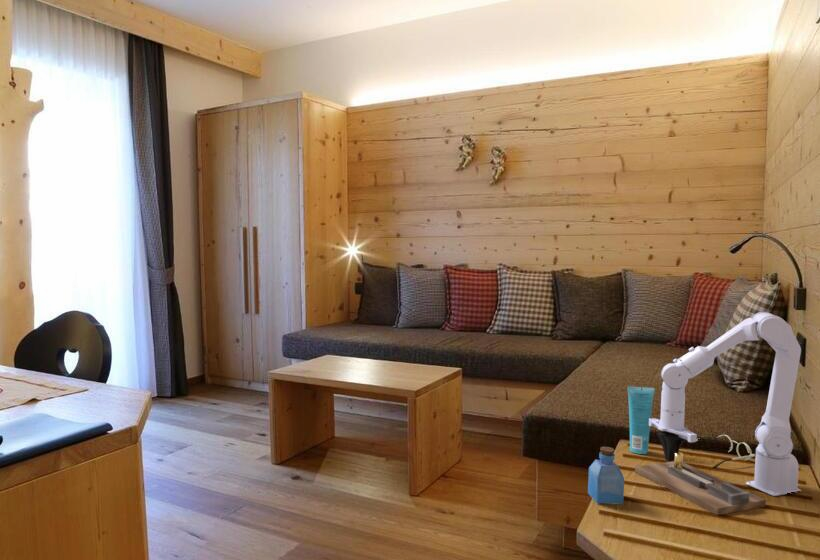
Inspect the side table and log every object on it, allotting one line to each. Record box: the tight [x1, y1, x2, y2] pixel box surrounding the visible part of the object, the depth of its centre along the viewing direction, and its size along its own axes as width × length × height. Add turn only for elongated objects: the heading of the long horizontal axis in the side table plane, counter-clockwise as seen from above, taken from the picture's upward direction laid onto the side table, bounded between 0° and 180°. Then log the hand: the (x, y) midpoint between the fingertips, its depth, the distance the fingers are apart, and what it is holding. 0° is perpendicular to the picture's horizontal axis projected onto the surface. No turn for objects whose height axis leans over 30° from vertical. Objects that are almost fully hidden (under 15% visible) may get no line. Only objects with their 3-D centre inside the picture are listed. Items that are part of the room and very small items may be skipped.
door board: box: [634, 461, 767, 516], centre depth 145 cm, size 15×26×4 cm, turn 20°
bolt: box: [669, 451, 713, 489], centre depth 146 cm, size 2×12×5 cm, turn 20°
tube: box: [627, 385, 656, 455], centre depth 169 cm, size 7×5×19 cm, turn 85°
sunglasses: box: [684, 434, 756, 469], centre depth 168 cm, size 17×15×5 cm
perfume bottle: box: [587, 446, 625, 505], centre depth 137 cm, size 6×6×12 cm
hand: (670, 460), depth 153 cm, fingers closed
